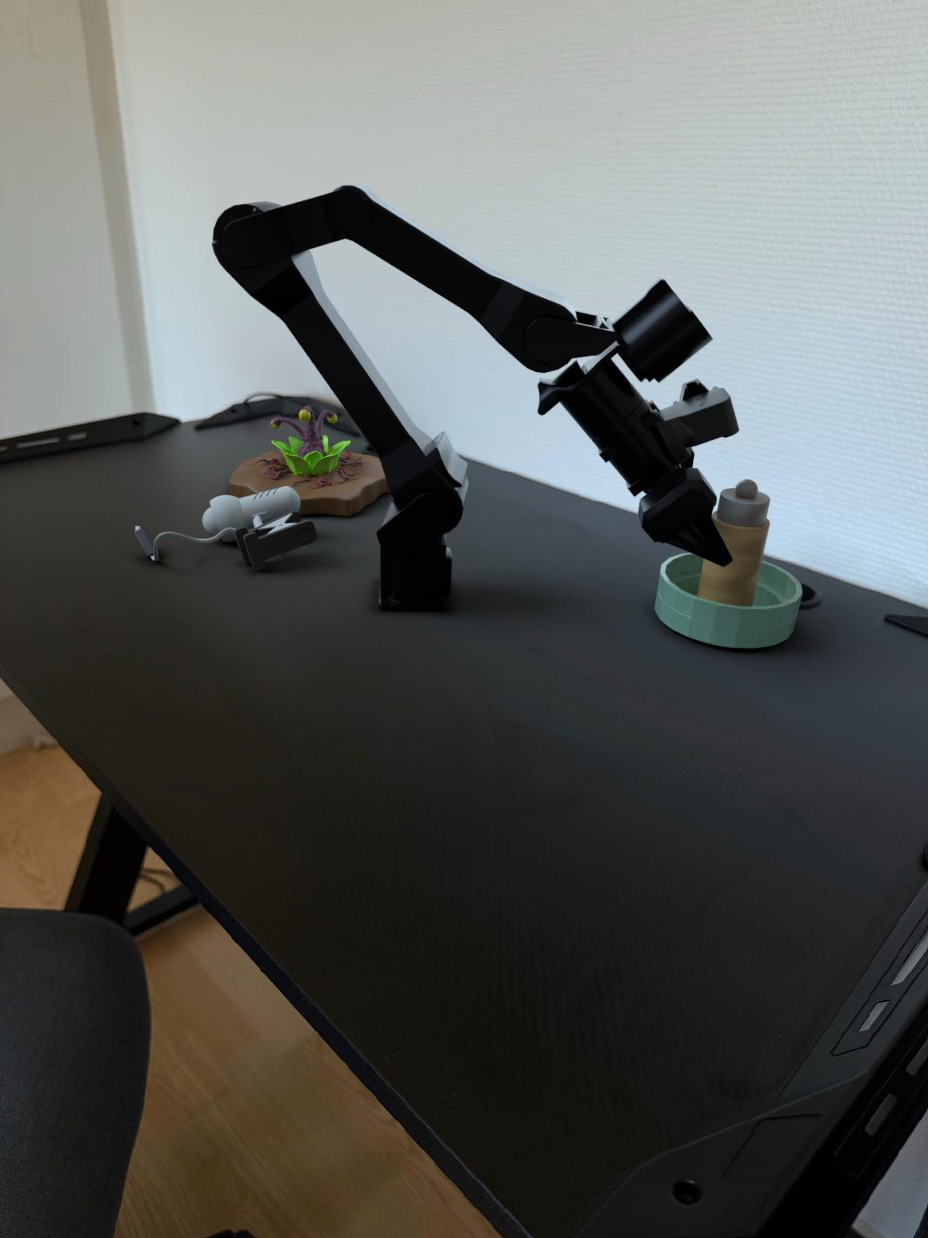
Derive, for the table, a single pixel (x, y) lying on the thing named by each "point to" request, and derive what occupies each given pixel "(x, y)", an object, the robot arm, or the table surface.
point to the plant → (313, 471)
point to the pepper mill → (738, 545)
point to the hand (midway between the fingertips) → (719, 543)
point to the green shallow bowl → (727, 606)
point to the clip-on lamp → (249, 526)
